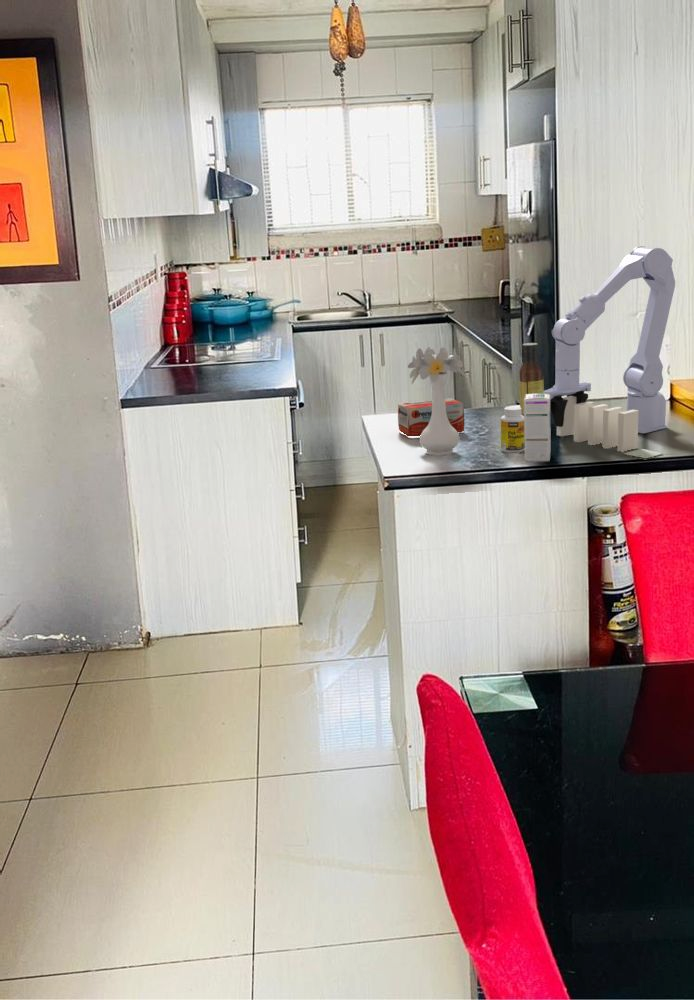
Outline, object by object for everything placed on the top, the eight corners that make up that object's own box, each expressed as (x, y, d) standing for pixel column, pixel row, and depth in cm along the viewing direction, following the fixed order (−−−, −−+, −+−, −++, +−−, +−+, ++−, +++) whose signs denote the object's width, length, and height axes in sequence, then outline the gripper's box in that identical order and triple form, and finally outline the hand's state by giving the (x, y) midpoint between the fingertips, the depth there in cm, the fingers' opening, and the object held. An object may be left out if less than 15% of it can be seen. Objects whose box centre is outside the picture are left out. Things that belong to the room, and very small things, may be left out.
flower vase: (449, 441, 260) (447, 339, 253) (477, 458, 243) (476, 349, 235) (398, 446, 257) (395, 343, 249) (424, 464, 240) (421, 354, 232)
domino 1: (556, 435, 258) (557, 398, 256) (570, 431, 261) (571, 395, 258) (561, 436, 257) (561, 399, 254) (575, 432, 260) (576, 396, 257)
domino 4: (602, 447, 247) (603, 410, 244) (616, 444, 250) (617, 406, 247) (607, 448, 246) (608, 411, 243) (622, 445, 248) (623, 407, 246)
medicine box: (452, 427, 275) (452, 397, 273) (465, 433, 268) (464, 402, 265) (397, 433, 271) (397, 402, 268) (409, 440, 263) (408, 408, 261)
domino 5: (617, 451, 243) (618, 412, 241) (631, 447, 246) (633, 409, 244) (622, 452, 242) (623, 413, 240) (637, 448, 245) (638, 410, 242)
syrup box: (550, 461, 237) (551, 398, 233) (523, 461, 238) (523, 398, 234) (550, 455, 243) (551, 393, 238) (524, 455, 244) (524, 393, 240)
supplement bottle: (505, 454, 245) (505, 411, 242) (497, 449, 250) (497, 406, 247) (528, 452, 246) (528, 409, 243) (519, 446, 251) (519, 404, 248)
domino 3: (587, 444, 251) (588, 407, 248) (602, 440, 253) (603, 403, 251) (592, 445, 249) (593, 408, 247) (607, 442, 252) (608, 404, 249)
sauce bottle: (547, 417, 280) (548, 342, 274) (538, 422, 275) (539, 346, 269) (524, 415, 284) (525, 341, 278) (515, 420, 279) (515, 345, 273)
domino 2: (573, 441, 254) (574, 404, 252) (587, 437, 257) (588, 401, 254) (578, 442, 253) (579, 405, 250) (592, 438, 256) (593, 402, 253)
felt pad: (641, 450, 243) (641, 448, 243) (662, 454, 239) (662, 453, 238) (624, 454, 240) (624, 453, 240) (645, 459, 235) (645, 458, 235)
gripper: (576, 363, 261) (575, 417, 265) (533, 371, 254) (533, 426, 258) (597, 366, 256) (596, 421, 260) (555, 374, 248) (554, 431, 252)
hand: (566, 424), depth 258 cm, fingers closed on domino 1, 5 cm apart
